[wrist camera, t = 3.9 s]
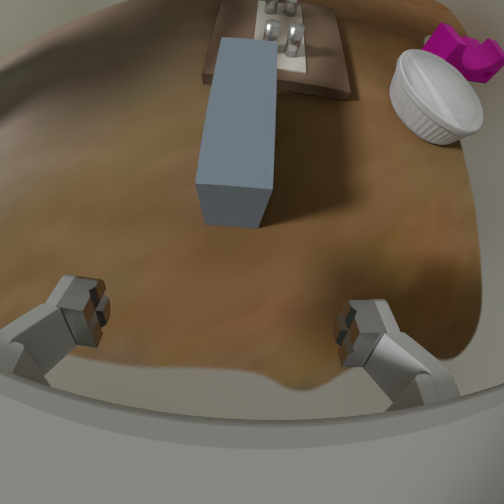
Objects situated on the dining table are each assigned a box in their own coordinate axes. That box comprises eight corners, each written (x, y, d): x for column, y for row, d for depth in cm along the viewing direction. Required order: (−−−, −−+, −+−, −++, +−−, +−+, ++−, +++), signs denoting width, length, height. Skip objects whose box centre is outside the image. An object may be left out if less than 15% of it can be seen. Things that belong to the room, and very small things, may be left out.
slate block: (205, 224, 23) (195, 183, 15) (221, 100, 25) (221, 37, 17) (257, 228, 23) (272, 189, 15) (264, 104, 26) (277, 41, 18)
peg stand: (203, 83, 25) (200, 43, 20) (223, 3, 28) (224, -30, 23) (345, 101, 26) (365, 66, 21) (330, 17, 29) (341, -13, 24)
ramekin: (364, 103, 27) (384, 71, 22) (399, 62, 29) (416, 36, 24) (445, 173, 26) (475, 153, 21) (465, 120, 28) (489, 100, 23)
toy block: (464, 55, 32) (486, 29, 25) (485, 83, 31) (510, 59, 24) (406, 44, 30) (429, 10, 23) (430, 77, 29) (458, 43, 22)
